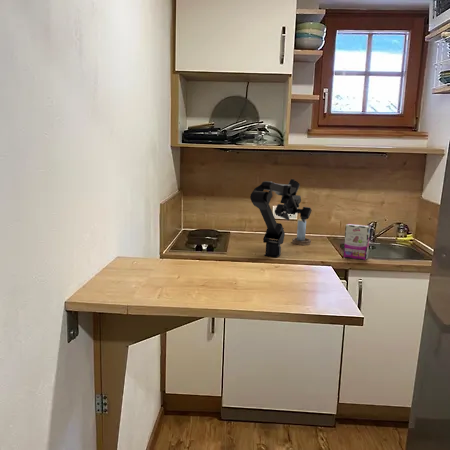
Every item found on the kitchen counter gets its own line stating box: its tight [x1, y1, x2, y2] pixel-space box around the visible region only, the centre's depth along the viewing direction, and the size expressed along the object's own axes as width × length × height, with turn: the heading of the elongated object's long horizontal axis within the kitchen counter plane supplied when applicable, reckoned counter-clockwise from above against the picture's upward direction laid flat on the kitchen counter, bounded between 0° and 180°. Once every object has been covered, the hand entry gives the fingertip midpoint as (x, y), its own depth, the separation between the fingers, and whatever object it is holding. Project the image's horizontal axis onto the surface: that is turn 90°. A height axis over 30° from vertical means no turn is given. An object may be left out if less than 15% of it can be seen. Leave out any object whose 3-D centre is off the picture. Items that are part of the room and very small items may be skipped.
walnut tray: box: [291, 237, 312, 246], centre depth 259 cm, size 10×10×2 cm
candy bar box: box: [342, 223, 371, 261], centre depth 229 cm, size 11×5×16 cm, turn 62°
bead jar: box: [296, 218, 307, 241], centre depth 257 cm, size 5×5×13 cm
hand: (296, 220), depth 249 cm, fingers open, 9 cm apart
